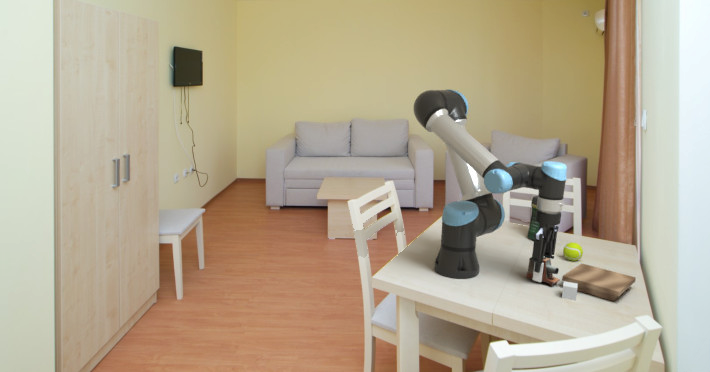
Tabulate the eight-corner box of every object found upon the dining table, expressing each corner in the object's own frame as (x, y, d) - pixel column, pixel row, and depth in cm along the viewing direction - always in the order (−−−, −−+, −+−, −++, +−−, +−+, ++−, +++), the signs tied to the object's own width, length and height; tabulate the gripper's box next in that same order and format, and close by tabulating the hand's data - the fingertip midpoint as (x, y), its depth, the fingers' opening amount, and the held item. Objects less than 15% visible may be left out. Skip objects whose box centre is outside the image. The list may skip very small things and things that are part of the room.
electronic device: (553, 286, 166) (556, 264, 165) (525, 277, 173) (527, 256, 171) (559, 283, 169) (562, 261, 168) (531, 274, 176) (534, 253, 174)
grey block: (561, 298, 159) (563, 285, 159) (562, 293, 163) (563, 281, 162) (575, 300, 158) (577, 288, 157) (576, 295, 161) (577, 283, 161)
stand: (561, 287, 167) (562, 275, 166) (580, 274, 178) (581, 263, 177) (617, 304, 156) (619, 291, 155) (634, 289, 167) (635, 277, 166)
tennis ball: (564, 262, 189) (566, 245, 188) (560, 256, 196) (562, 239, 194) (583, 264, 188) (586, 246, 187) (579, 257, 195) (581, 240, 193)
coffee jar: (537, 243, 210) (542, 198, 206) (524, 237, 217) (528, 194, 213) (556, 240, 214) (561, 196, 210) (542, 235, 221) (546, 192, 217)
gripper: (548, 218, 157) (539, 289, 163) (571, 208, 170) (562, 274, 175) (525, 212, 162) (517, 282, 168) (549, 203, 175) (541, 268, 180)
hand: (540, 278), depth 171 cm, fingers closed on electronic device, 4 cm apart
